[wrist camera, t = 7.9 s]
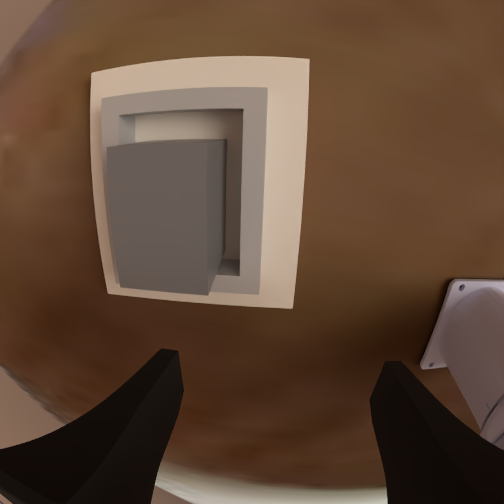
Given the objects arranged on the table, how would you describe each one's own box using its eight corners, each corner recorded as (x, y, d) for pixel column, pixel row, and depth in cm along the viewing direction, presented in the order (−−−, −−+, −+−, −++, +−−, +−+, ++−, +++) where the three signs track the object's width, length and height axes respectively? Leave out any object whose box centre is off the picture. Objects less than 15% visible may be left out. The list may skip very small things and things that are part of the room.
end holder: (307, 63, 14) (314, 49, 11) (291, 299, 19) (294, 328, 16) (100, 74, 14) (72, 68, 12) (114, 286, 20) (94, 309, 17)
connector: (227, 139, 15) (206, 142, 10) (225, 250, 17) (208, 295, 12) (152, 140, 15) (106, 147, 10) (157, 246, 17) (120, 287, 13)
